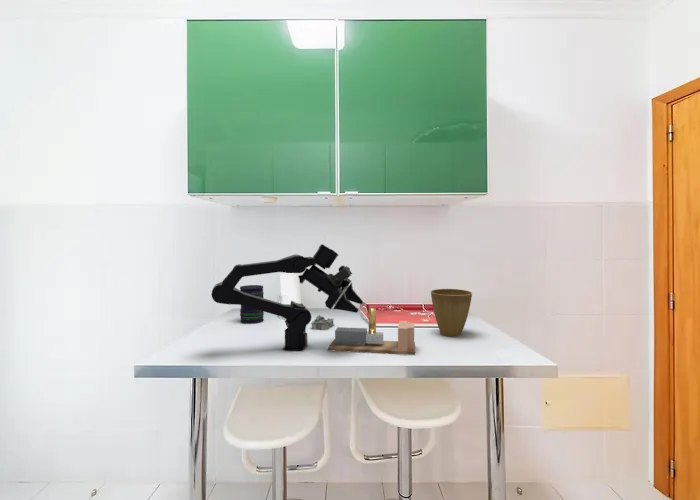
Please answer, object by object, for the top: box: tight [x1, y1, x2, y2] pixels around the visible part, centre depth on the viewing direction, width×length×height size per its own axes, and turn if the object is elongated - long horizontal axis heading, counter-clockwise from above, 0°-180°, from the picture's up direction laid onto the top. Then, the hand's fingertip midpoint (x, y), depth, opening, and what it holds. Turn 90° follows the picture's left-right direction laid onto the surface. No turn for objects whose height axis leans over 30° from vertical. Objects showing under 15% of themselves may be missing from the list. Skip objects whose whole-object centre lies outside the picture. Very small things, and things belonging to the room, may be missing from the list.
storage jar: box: [239, 284, 265, 325], centre depth 171 cm, size 10×10×15 cm
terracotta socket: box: [397, 320, 415, 351], centre depth 130 cm, size 5×10×7 cm, turn 171°
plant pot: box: [430, 288, 473, 337], centre depth 149 cm, size 15×15×16 cm
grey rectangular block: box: [334, 326, 368, 347], centre depth 133 cm, size 10×5×5 cm, turn 81°
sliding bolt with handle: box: [366, 307, 384, 344], centre depth 132 cm, size 14×3×11 cm, turn 81°
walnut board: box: [327, 338, 416, 356], centre depth 132 cm, size 28×11×1 cm, turn 81°
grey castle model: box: [310, 314, 335, 331], centre depth 161 cm, size 11×8×4 cm
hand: (360, 307), depth 131 cm, fingers open, 9 cm apart
